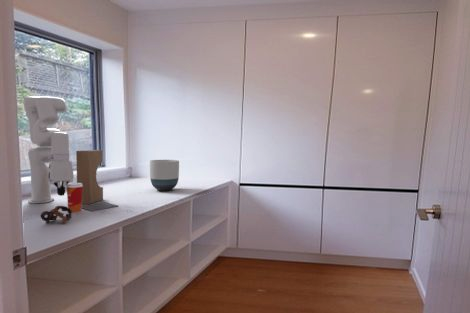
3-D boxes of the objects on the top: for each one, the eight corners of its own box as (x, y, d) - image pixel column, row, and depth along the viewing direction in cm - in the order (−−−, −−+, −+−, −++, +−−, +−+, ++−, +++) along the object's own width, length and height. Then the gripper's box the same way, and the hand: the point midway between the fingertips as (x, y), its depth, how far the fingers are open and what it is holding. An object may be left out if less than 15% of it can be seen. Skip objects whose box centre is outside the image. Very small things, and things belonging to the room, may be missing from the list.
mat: (78, 207, 160) (78, 206, 160) (105, 202, 172) (105, 201, 172) (91, 211, 152) (91, 210, 152) (118, 206, 163) (118, 205, 163)
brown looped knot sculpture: (60, 219, 138) (69, 204, 138) (69, 232, 133) (77, 216, 133) (33, 218, 128) (42, 202, 127) (41, 232, 123) (50, 215, 123)
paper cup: (67, 209, 154) (67, 182, 154) (84, 208, 157) (83, 182, 156) (64, 213, 147) (64, 185, 146) (82, 212, 150) (82, 184, 149)
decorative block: (89, 204, 167) (88, 151, 165) (76, 204, 167) (75, 150, 165) (103, 199, 182) (102, 150, 180) (91, 199, 182) (90, 149, 180)
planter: (151, 188, 224) (151, 159, 222) (179, 187, 227) (179, 159, 226) (148, 193, 204) (148, 161, 202) (179, 192, 207) (179, 161, 206)
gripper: (46, 158, 137) (47, 198, 138) (79, 157, 149) (80, 194, 150) (40, 158, 142) (41, 196, 143) (73, 156, 154) (73, 192, 155)
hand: (61, 195), depth 147 cm, fingers closed
